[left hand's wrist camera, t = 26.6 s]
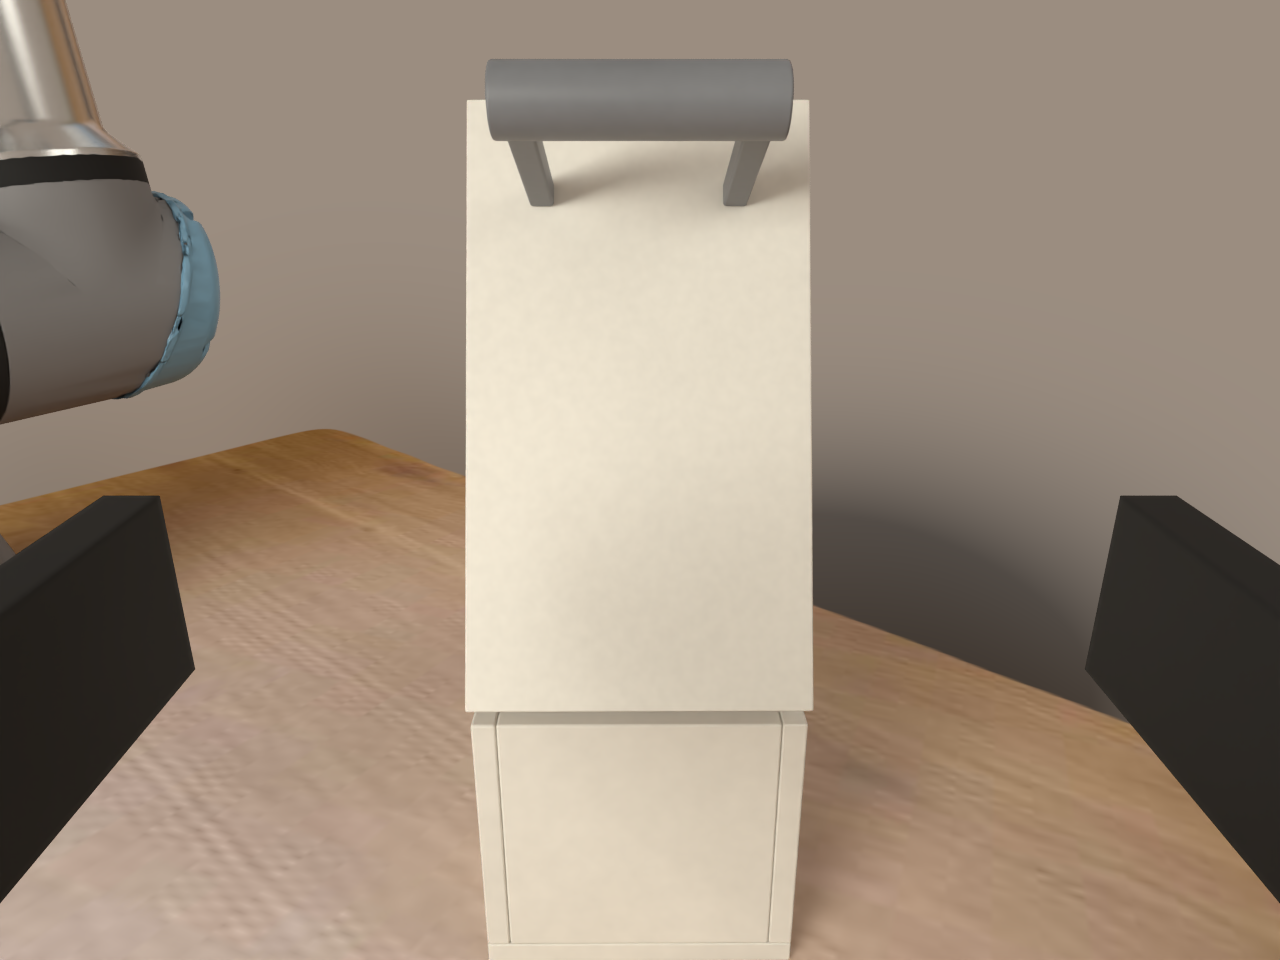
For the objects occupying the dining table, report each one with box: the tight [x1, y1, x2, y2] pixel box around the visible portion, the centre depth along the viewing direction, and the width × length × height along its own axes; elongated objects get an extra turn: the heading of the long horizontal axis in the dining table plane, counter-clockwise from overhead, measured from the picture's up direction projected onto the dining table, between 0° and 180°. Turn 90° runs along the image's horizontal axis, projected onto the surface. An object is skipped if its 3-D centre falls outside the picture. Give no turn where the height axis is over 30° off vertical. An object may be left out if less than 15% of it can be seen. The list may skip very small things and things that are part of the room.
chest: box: [471, 711, 808, 960], centre depth 36 cm, size 17×10×9 cm, turn 0°
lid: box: [465, 59, 813, 712], centre depth 23 cm, size 18×10×8 cm
